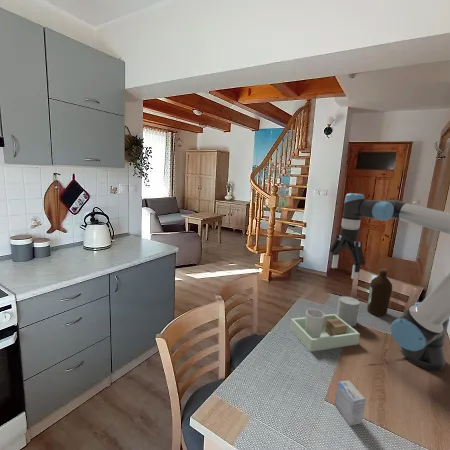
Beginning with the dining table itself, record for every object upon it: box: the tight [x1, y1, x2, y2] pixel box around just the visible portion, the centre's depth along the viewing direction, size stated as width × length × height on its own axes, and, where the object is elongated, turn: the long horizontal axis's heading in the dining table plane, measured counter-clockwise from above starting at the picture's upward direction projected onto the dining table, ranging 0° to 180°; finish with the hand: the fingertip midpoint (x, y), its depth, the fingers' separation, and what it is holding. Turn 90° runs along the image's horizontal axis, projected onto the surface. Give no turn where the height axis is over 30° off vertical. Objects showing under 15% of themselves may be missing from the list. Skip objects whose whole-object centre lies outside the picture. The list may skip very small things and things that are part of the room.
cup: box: [305, 308, 326, 339], centre depth 122 cm, size 8×8×12 cm
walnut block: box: [325, 319, 347, 336], centre depth 126 cm, size 6×6×6 cm
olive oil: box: [366, 268, 393, 317], centre depth 149 cm, size 11×11×25 cm
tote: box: [289, 313, 361, 353], centre depth 125 cm, size 17×24×6 cm
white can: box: [336, 295, 361, 328], centre depth 138 cm, size 10×10×12 cm
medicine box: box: [333, 380, 367, 426], centre depth 85 cm, size 8×4×9 cm, turn 12°
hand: (343, 272), depth 128 cm, fingers open, 13 cm apart
